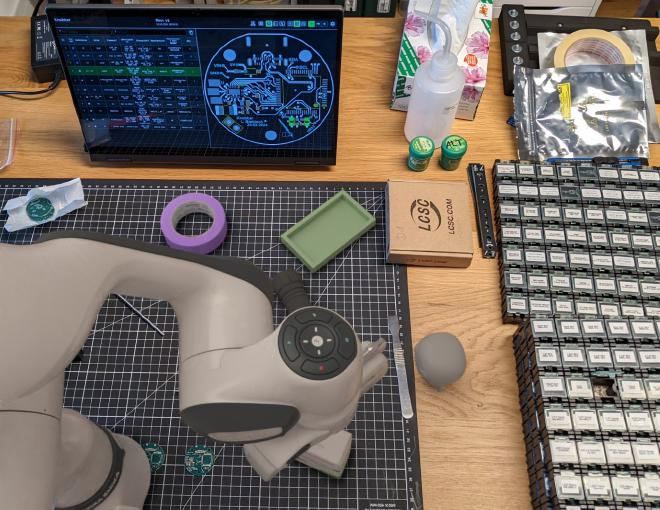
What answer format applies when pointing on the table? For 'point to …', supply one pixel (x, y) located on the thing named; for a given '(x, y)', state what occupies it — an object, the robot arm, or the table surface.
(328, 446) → the ink box
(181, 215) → the tape roll
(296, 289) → the flashlight
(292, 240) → the tray
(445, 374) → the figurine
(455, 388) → the table surface
